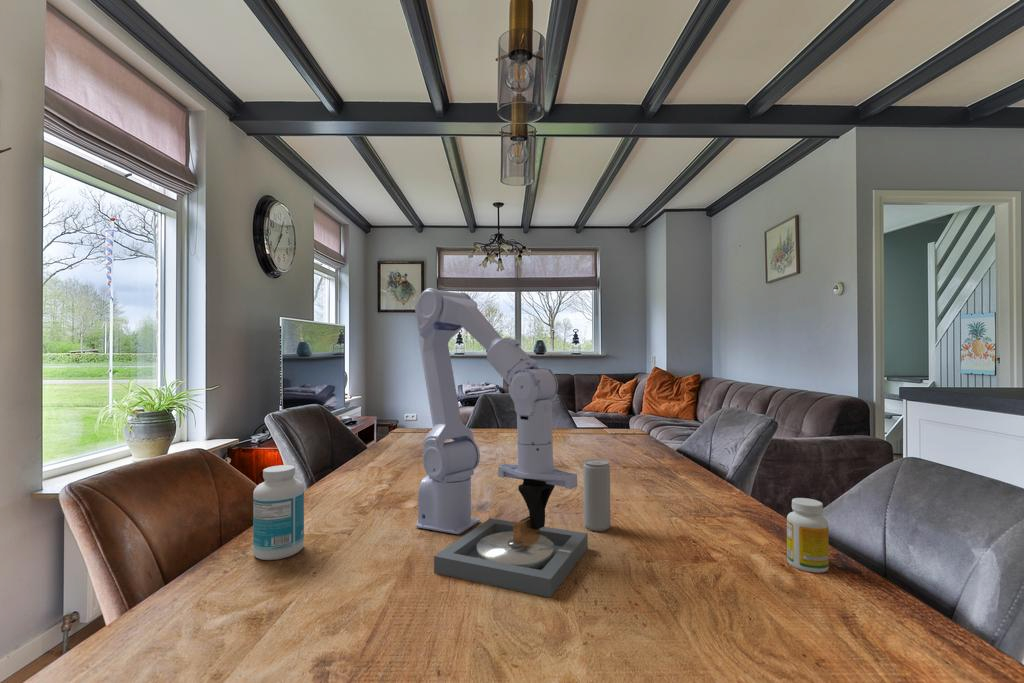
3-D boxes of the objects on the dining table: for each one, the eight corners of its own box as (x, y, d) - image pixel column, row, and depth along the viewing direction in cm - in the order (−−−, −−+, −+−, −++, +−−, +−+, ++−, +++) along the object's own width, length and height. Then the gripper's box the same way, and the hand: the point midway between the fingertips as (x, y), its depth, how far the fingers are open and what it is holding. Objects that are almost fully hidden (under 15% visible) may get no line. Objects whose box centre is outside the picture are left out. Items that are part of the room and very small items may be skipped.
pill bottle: (282, 540, 83) (283, 461, 83) (313, 548, 80) (314, 465, 80) (241, 556, 76) (243, 470, 77) (273, 565, 73) (275, 475, 73)
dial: (524, 579, 67) (524, 542, 67) (460, 557, 74) (460, 524, 74) (568, 551, 76) (568, 519, 76) (508, 534, 83) (508, 505, 84)
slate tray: (433, 572, 70) (434, 553, 71) (489, 531, 87) (489, 516, 87) (550, 597, 63) (550, 576, 63) (587, 548, 79) (587, 531, 80)
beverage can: (610, 533, 86) (609, 465, 86) (583, 531, 87) (582, 464, 87) (610, 523, 91) (609, 459, 91) (584, 522, 92) (584, 458, 92)
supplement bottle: (779, 562, 74) (778, 498, 74) (801, 555, 76) (800, 494, 77) (814, 576, 69) (813, 508, 69) (837, 569, 71) (836, 503, 72)
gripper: (586, 442, 77) (589, 529, 76) (515, 435, 86) (517, 513, 86) (562, 449, 72) (564, 542, 71) (489, 441, 81) (490, 523, 80)
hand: (537, 527), depth 78 cm, fingers closed, pressing on dial
